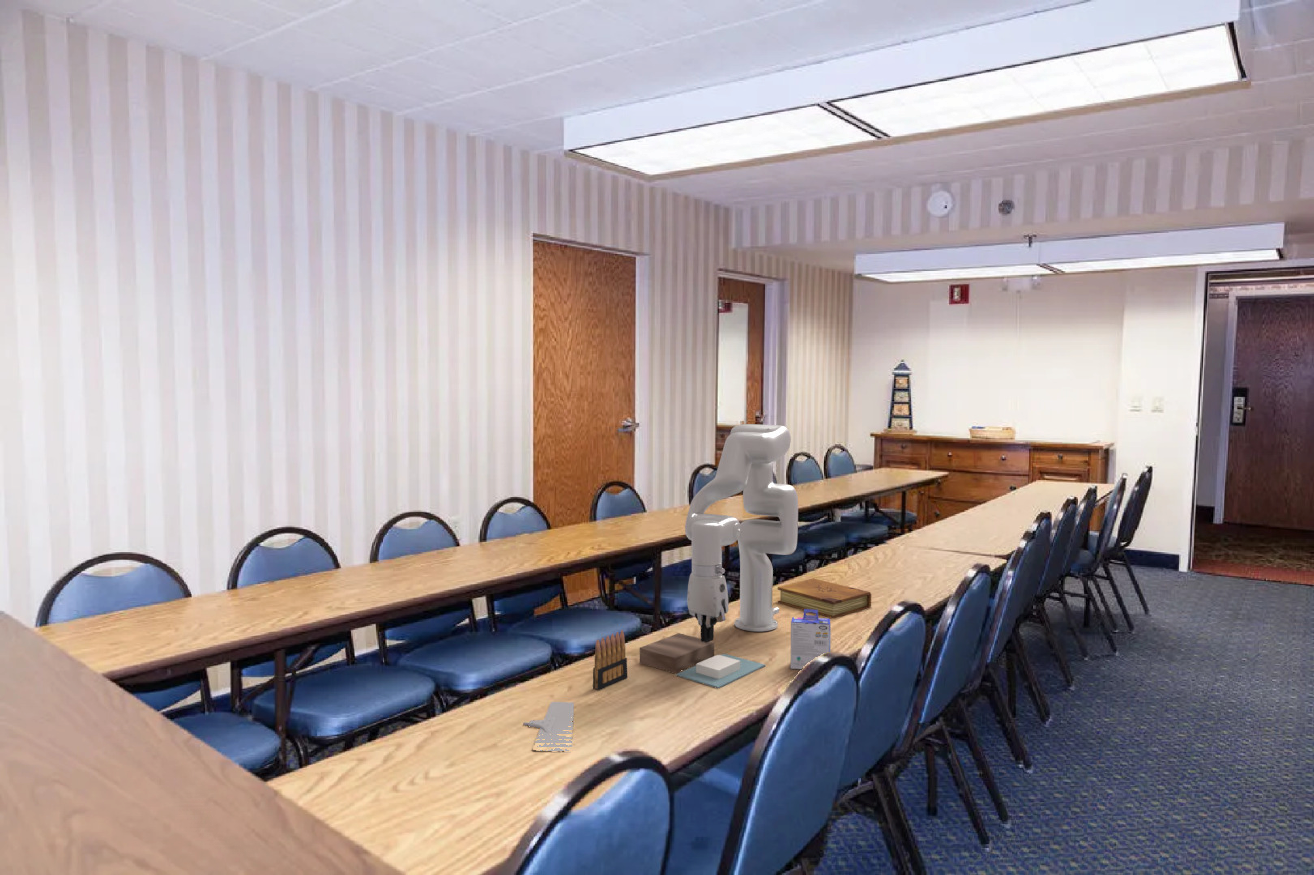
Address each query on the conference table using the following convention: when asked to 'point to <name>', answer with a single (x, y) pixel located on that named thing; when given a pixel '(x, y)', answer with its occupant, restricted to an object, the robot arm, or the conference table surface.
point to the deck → (676, 652)
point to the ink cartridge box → (809, 638)
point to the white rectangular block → (718, 666)
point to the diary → (824, 597)
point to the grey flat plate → (555, 725)
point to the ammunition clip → (609, 662)
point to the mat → (745, 669)
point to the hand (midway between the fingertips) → (707, 640)
